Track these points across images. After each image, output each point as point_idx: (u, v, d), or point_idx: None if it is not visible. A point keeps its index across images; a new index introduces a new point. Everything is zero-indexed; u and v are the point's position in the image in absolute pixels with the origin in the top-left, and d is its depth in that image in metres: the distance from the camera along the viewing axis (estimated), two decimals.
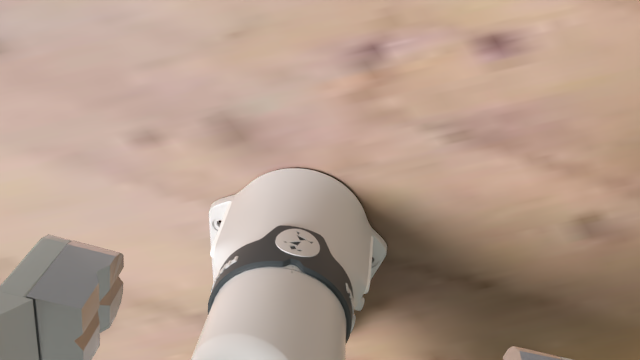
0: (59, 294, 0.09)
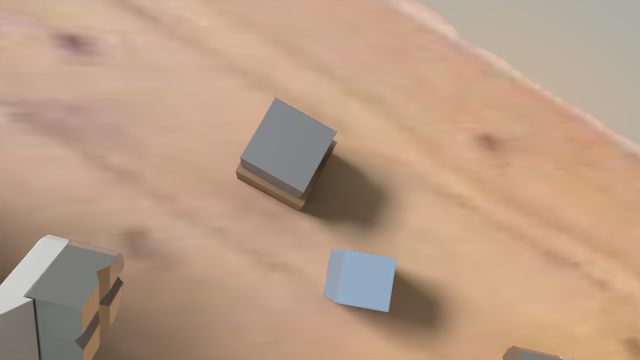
0: (59, 294, 0.09)
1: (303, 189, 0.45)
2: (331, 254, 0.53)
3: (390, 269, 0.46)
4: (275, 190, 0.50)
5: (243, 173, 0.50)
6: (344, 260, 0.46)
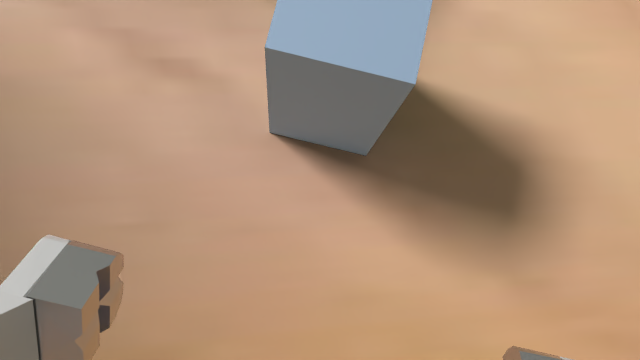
0: (59, 294, 0.09)
1: None
2: None
3: None
4: None
5: None
6: None
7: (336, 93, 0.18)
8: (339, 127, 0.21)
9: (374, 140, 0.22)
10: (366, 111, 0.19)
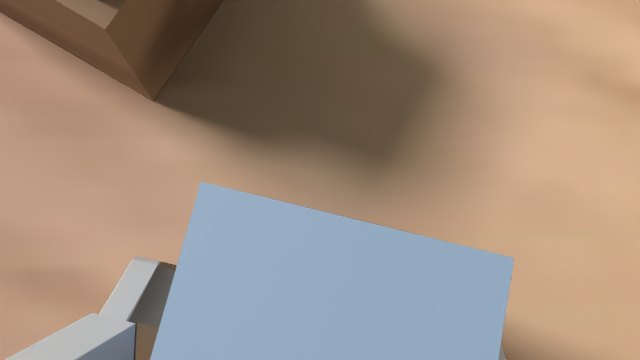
0: (159, 318, 0.09)
1: None
2: None
3: (473, 322, 0.07)
4: None
5: None
6: (189, 248, 0.07)
7: None
8: None
9: None
10: None
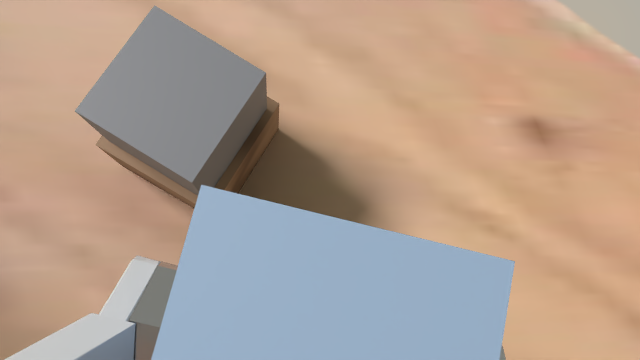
0: (159, 318, 0.09)
1: (191, 176, 0.23)
2: None
3: (474, 327, 0.07)
4: (163, 181, 0.28)
5: (108, 149, 0.28)
6: (189, 251, 0.07)
7: None
8: None
9: None
10: None
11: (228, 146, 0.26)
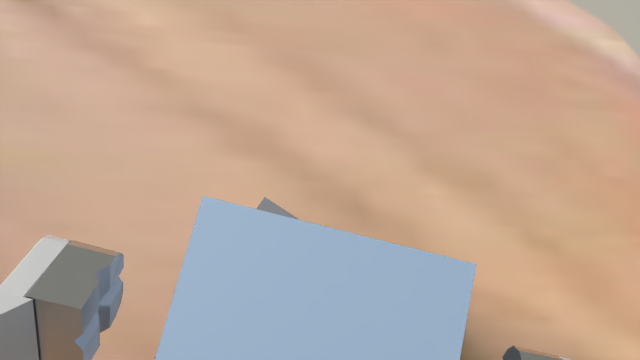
0: (59, 294, 0.09)
1: None
2: None
3: (439, 321, 0.08)
4: None
5: None
6: (191, 254, 0.08)
7: None
8: None
9: None
10: None
11: None
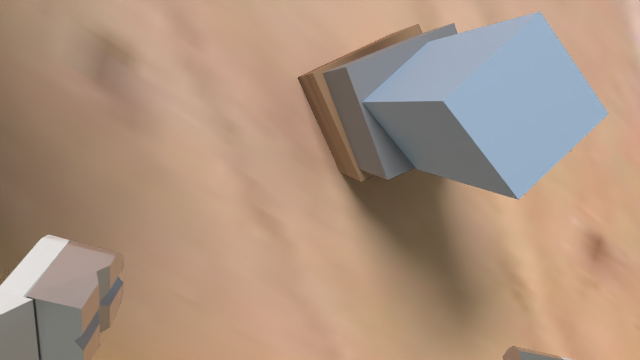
0: (59, 294, 0.09)
1: (390, 176, 0.27)
2: (430, 45, 0.26)
3: (582, 123, 0.19)
4: (343, 136, 0.32)
5: (320, 84, 0.31)
6: (521, 31, 0.18)
7: (453, 149, 0.20)
8: (423, 150, 0.24)
9: (438, 174, 0.25)
10: (459, 169, 0.22)
11: None
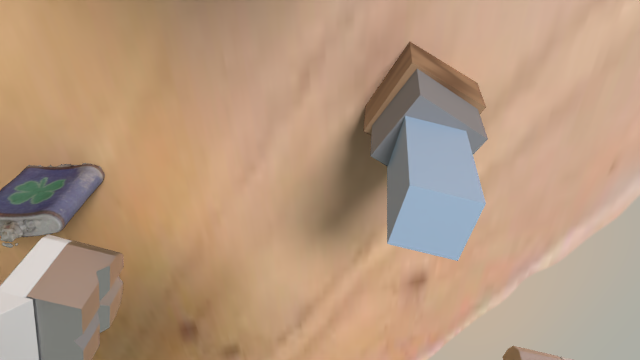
0: (59, 294, 0.09)
1: (373, 156, 0.40)
2: (462, 136, 0.37)
3: (444, 252, 0.33)
4: (384, 104, 0.43)
5: (408, 71, 0.42)
6: (469, 200, 0.31)
7: (396, 196, 0.34)
8: (393, 172, 0.37)
9: (387, 185, 0.38)
10: (391, 201, 0.35)
11: None
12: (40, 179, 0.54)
